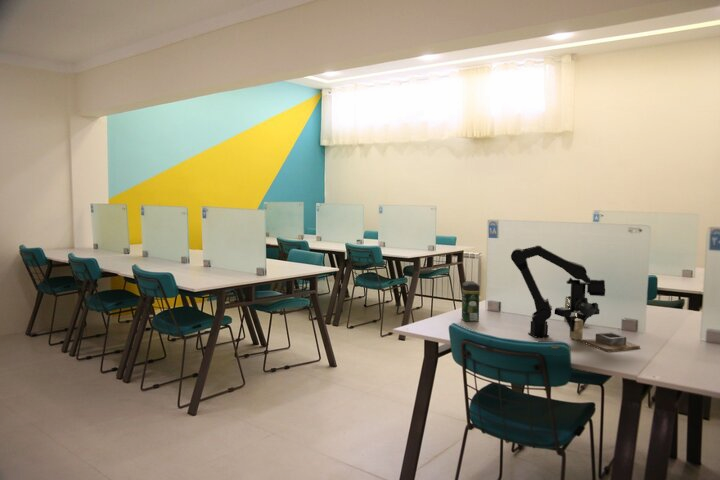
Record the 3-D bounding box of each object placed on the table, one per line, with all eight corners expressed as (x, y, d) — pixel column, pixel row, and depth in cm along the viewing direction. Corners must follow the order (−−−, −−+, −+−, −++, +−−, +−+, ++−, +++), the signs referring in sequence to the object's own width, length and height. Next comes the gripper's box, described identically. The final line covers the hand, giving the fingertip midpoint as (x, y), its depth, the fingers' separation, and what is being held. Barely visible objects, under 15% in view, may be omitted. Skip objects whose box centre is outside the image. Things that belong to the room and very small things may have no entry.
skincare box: (563, 321, 260) (564, 296, 258) (564, 319, 263) (566, 294, 262) (578, 322, 257) (579, 297, 256) (579, 320, 260) (580, 295, 259)
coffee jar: (460, 317, 266) (461, 280, 264) (476, 317, 266) (477, 280, 264) (463, 322, 256) (464, 283, 254) (480, 322, 256) (481, 283, 254)
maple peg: (575, 339, 226) (576, 320, 225) (569, 337, 229) (570, 318, 229) (582, 338, 227) (583, 320, 226) (576, 336, 230) (577, 318, 230)
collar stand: (607, 351, 210) (607, 341, 210) (582, 342, 223) (582, 332, 223) (639, 348, 215) (640, 338, 215) (613, 339, 228) (613, 329, 228)
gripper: (572, 299, 216) (570, 337, 217) (610, 297, 222) (608, 334, 223) (554, 294, 227) (552, 330, 228) (590, 292, 232) (589, 327, 234)
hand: (576, 331), depth 228 cm, fingers closed on maple peg, 4 cm apart
